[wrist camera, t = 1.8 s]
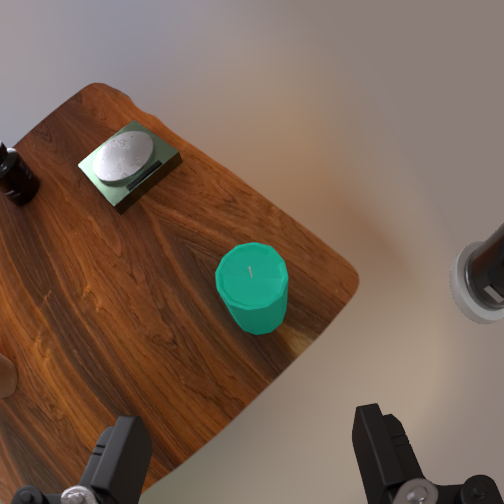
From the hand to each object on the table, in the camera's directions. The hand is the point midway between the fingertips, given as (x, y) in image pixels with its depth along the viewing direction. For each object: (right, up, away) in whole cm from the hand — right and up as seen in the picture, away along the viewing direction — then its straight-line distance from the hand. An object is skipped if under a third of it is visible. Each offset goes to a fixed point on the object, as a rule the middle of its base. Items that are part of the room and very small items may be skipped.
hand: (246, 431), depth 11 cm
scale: (-19, +20, +36) cm, 45 cm away
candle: (+1, 0, +25) cm, 26 cm away
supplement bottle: (-41, +17, +37) cm, 58 cm away
